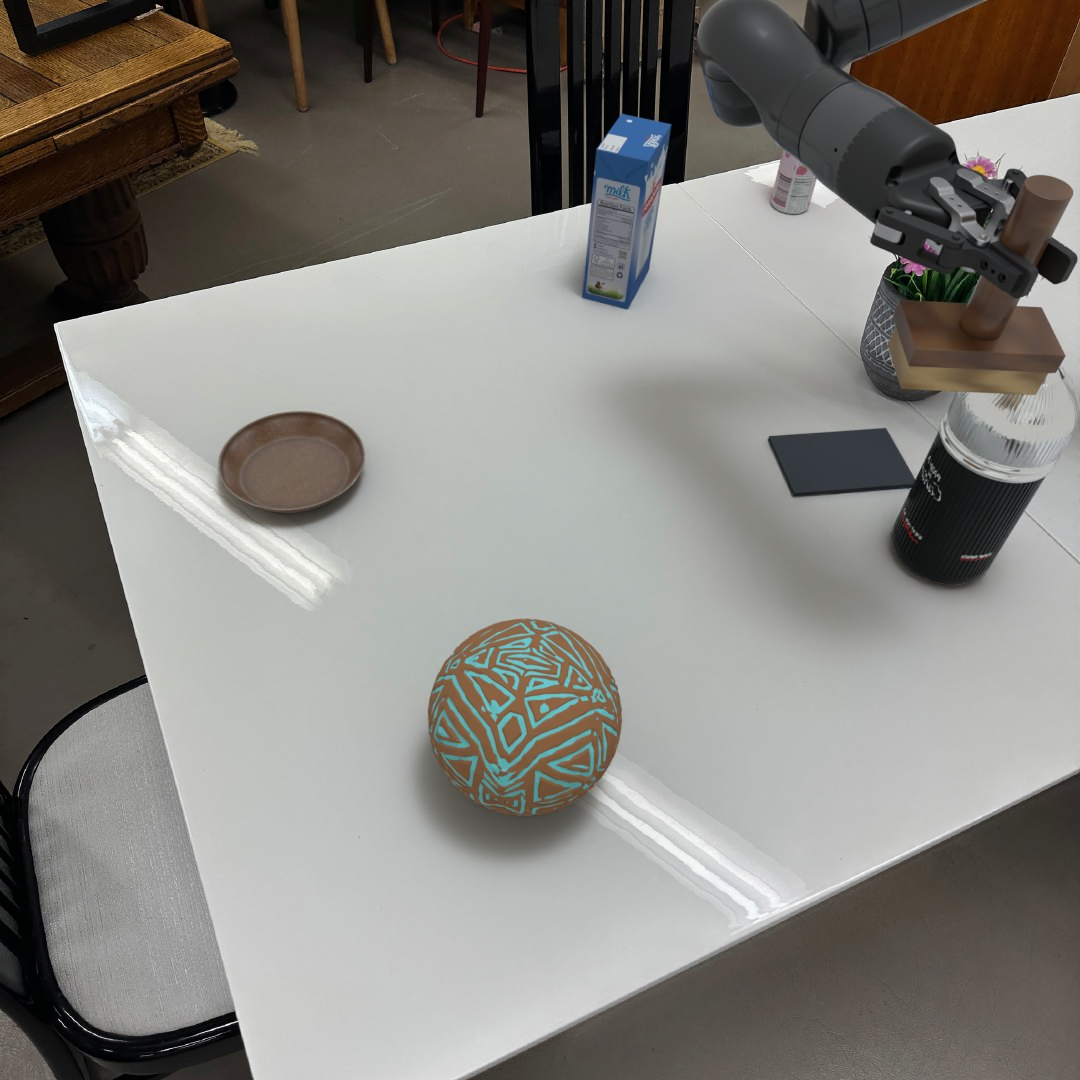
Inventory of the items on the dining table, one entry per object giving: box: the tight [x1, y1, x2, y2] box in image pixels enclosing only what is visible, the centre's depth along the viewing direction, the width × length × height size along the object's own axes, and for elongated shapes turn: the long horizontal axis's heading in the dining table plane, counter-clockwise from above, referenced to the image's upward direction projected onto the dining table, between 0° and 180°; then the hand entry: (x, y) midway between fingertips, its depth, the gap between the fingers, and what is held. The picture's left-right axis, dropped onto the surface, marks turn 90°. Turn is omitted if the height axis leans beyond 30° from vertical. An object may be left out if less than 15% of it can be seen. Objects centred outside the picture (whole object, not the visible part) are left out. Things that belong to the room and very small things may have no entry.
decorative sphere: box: [427, 618, 623, 817], centre depth 75 cm, size 15×15×15 cm
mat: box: [767, 427, 916, 498], centre depth 106 cm, size 14×9×1 cm, turn 99°
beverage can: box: [770, 149, 818, 215], centre depth 137 cm, size 6×6×15 cm
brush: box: [887, 174, 1074, 395], centre depth 67 cm, size 11×6×15 cm, turn 89°
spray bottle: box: [890, 364, 1080, 586], centre depth 89 cm, size 10×10×25 cm
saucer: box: [217, 410, 366, 514], centre depth 100 cm, size 15×15×3 cm
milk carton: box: [582, 113, 672, 310], centre depth 120 cm, size 10×6×20 cm, turn 160°
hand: (1048, 278), depth 63 cm, fingers closed on brush, 3 cm apart
